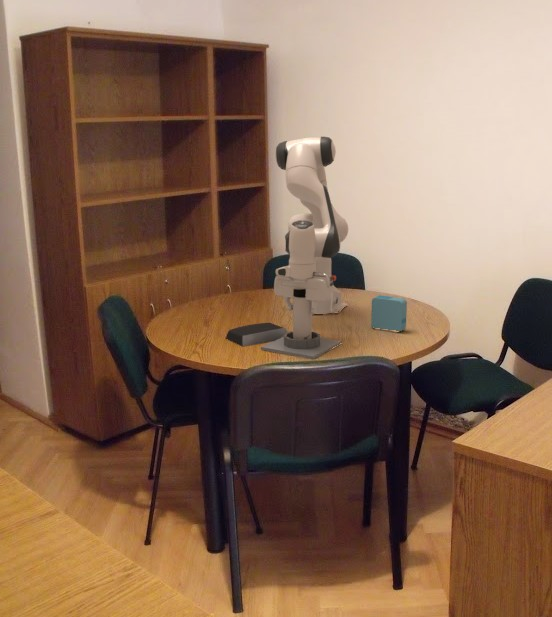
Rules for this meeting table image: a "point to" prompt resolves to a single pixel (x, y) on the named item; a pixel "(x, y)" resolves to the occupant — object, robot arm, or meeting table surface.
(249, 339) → the external hard drive
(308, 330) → the travel mug
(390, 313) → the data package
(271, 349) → the mug holder
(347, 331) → the meeting table surface
